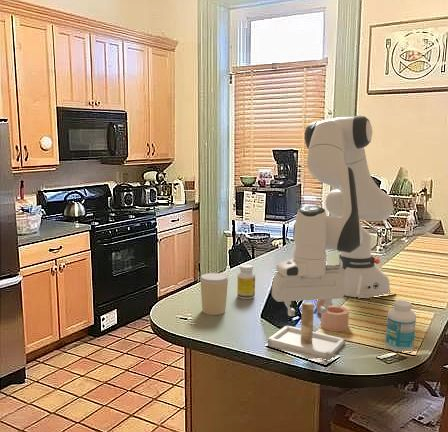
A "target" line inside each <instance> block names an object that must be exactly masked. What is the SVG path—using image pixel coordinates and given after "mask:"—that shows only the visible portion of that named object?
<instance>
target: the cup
mask: <svg viewBox="0 0 448 432" xmlns="http://www.w3.org/2000/svg"><path fill="white" fill-rule="evenodd" d="M349 316H350V310H349V309H348V308H346V307H345V306H339V305H333V304H332V306H329V307H328V308H327V314H321V315H320V326H321V328H322V329H323V330H326V331H329V332H344V331H347V330H348V329H349V318H350V317H349Z"/></svg>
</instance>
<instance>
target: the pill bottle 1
mask: <svg viewBox="0 0 448 432" xmlns="http://www.w3.org/2000/svg"><path fill="white" fill-rule="evenodd" d="M239 270H240V272H237V278H236V279H237V280H236V281H237V283H236V284H237V289H236V292H237V293H236V294H237V295H236V296H237V297H238V298H239V299H243V300H251V299H253V298H254V297H255V295H256V274H255V273H254V272H253V270H254V266H253V264H240V266H239Z"/></svg>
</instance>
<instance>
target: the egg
mask: <svg viewBox="0 0 448 432" xmlns="http://www.w3.org/2000/svg"><path fill="white" fill-rule="evenodd" d="M325 302H326V301H325V300H324V299H320V300H317V302H316V306H315V308H316V311H317V312H316V313H317V314H319V315H320V316H321V313H320V310H321V309H320V307H321V306H323V305H324V303H325ZM330 306H333V303H331V304H330Z"/></svg>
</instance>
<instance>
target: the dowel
mask: <svg viewBox="0 0 448 432" xmlns="http://www.w3.org/2000/svg"><path fill="white" fill-rule="evenodd" d="M314 306H315V305H314V303H312V302H306V301H305V302H302V304H301V322H300V323H301V324H300V329H301V343H303V344H312V335H313V332H314V329H313V328H314V314H315V313H314V312H315V311H314V309H315V308H314Z"/></svg>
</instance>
